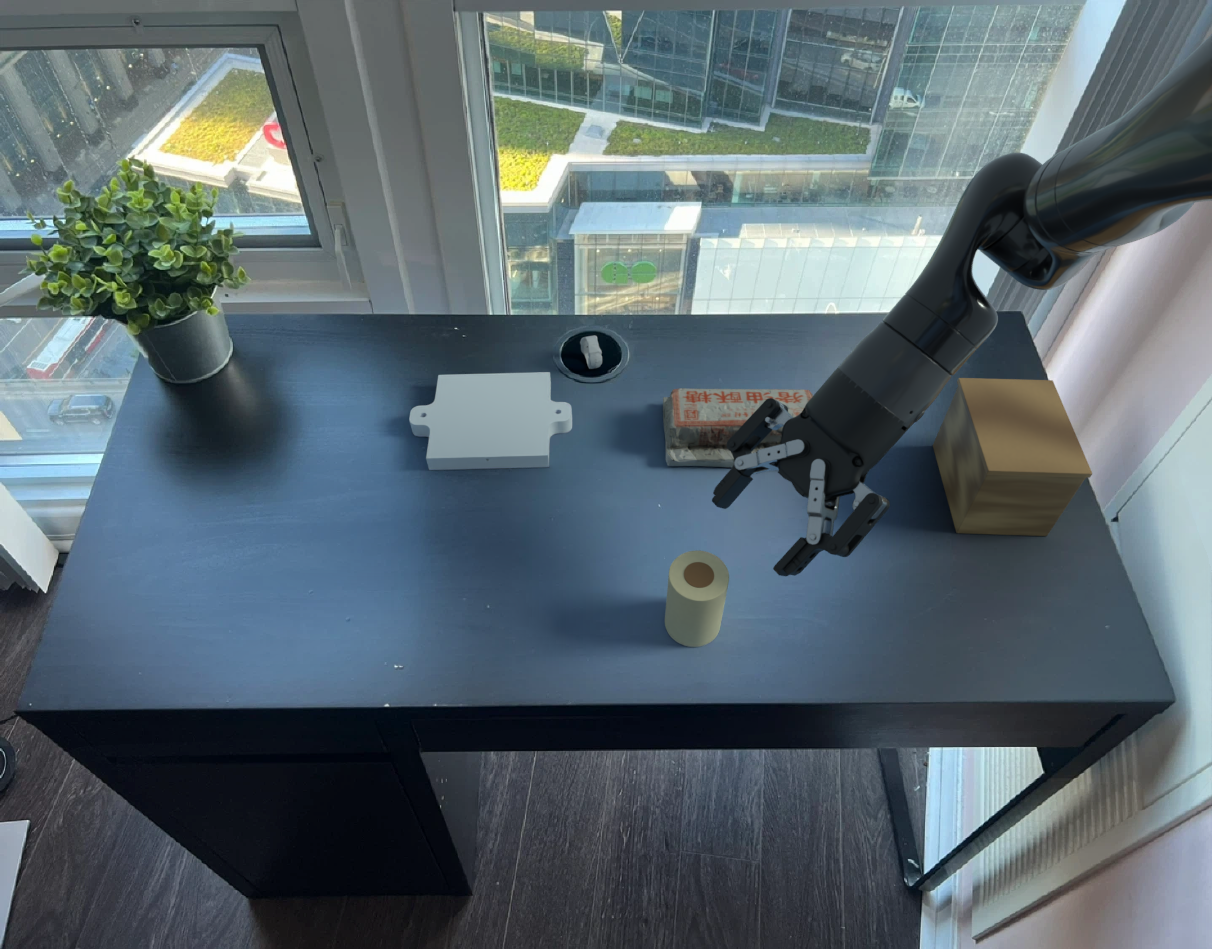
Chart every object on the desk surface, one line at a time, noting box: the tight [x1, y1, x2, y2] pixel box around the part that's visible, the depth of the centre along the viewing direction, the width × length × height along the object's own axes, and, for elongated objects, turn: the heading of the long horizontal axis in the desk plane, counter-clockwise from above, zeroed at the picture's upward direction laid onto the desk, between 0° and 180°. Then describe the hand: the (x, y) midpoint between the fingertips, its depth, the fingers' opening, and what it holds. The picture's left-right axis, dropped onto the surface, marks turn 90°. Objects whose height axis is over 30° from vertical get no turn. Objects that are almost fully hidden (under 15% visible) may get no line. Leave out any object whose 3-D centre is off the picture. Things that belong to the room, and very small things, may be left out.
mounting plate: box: [408, 371, 573, 471], centre depth 94 cm, size 18×13×2 cm
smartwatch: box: [579, 335, 603, 370], centre depth 100 cm, size 4×2×4 cm, turn 14°
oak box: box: [932, 377, 1093, 537], centre depth 85 cm, size 12×9×10 cm
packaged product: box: [662, 387, 814, 468], centre depth 92 cm, size 18×5×10 cm
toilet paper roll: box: [664, 549, 730, 648], centre depth 75 cm, size 5×5×8 cm
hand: (748, 538), depth 73 cm, fingers open, 8 cm apart
